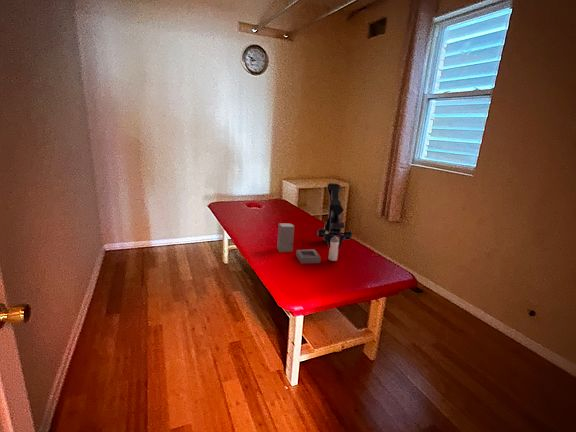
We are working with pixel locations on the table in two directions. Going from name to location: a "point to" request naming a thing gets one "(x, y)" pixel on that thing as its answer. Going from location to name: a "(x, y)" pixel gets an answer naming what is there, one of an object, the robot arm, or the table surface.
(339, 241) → the robot arm
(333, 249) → the grey round-top peg
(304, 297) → the table surface
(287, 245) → the skincare box
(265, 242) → the table surface
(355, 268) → the table surface
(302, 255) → the jig
